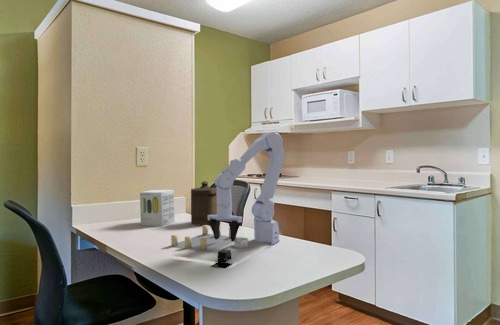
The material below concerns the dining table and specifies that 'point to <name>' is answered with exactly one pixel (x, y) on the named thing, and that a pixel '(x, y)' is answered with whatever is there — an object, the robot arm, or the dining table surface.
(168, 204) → the supplement box
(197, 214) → the wooden container
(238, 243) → the faceted star polyhedron
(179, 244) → the board
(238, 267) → the dining table surface
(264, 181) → the robot arm
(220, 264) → the black block
